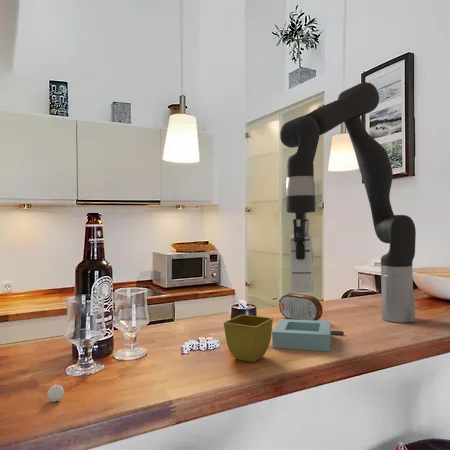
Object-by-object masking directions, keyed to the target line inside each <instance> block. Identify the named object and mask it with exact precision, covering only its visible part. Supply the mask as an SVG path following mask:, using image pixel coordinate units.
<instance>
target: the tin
mask: <svg viewBox="0 0 450 450" xmlns="http://www.w3.org/2000/svg"><path fill="white" fill-rule="evenodd" d="M278 301H279V302H278V305H279V306H278V307H279V311H280V313H281V315H282V316H283V317H284V318H285V319H293V320H314V321H320V319H321V318H322V315H323V312H324V311H323V306H322V303H321V302H320V300H319V299H318V298H316V297H315V296H314V295H309V294H300V293H296V292H288V293H286V294H284V295H283V296H281V297H280V299H279V300H278Z"/></svg>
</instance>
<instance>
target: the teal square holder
mask: <svg viewBox="0 0 450 450" xmlns="http://www.w3.org/2000/svg"><path fill="white" fill-rule="evenodd" d="M331 324H332V323H331V320H330V321H329V320H317V321H314V320H293V319H287V318H280V319H279V321H277V323H276V325H275V326H274V328H273V329H272V333H271V340H272V343H271V344H272V348H273V349H275V348H276V349H285V350H286V349H288V350H301V351H317V352H331V344H332V343H331V341H332V340H331V339H332V334H331V331H332V325H331Z"/></svg>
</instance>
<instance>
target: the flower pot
mask: <svg viewBox="0 0 450 450" xmlns="http://www.w3.org/2000/svg"><path fill="white" fill-rule="evenodd" d="M273 322H274V318H272V317H268V316H260V315H258V316H257V315H251V314H240V315H237V316H235V317H233V318H231V319H227V320H226V321H224V322H223V326H224V327H223V328H224V334H225V341H226V346H227V347H228V350H229V352H230V354H231V355H232V357H233V358H234V359H235V360H238V361H244V362H250V363H255V362H257V361H258V360H260V359H261V358H262V357H264V355H265V354H266V352H267V350H268V349H269V346H270V343H271V340H272V331H273Z"/></svg>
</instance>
